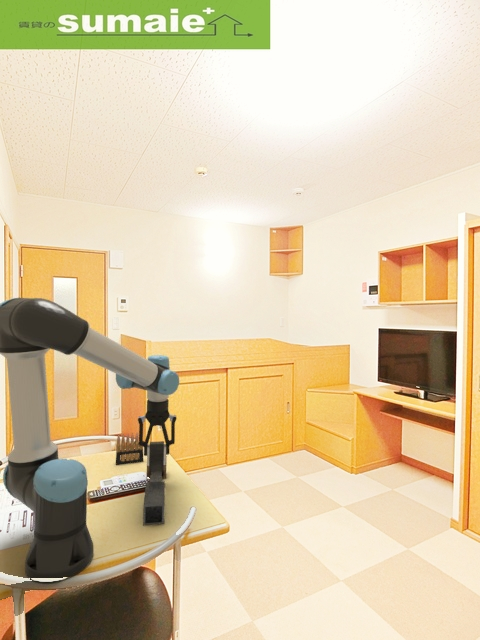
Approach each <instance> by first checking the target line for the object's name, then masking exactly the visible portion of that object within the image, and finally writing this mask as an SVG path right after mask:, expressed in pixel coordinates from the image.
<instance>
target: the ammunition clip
mask: <svg viewBox="0 0 480 640" xmlns="http://www.w3.org/2000/svg"><path fill="white" fill-rule="evenodd" d="M134 436H135V437H134ZM115 446H116V449H115V465H116V466H120V465H128V464H129V465H130V464H138V463H144V447H143V446H139V432H136V433H135V435H134V433H133V432H132V433H131V437H130V434H129V433H127V435H126V438H125V434H124V433H122V435H121V437H120V434H117V438H116V444H115Z"/></svg>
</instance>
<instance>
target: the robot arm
mask: <svg viewBox="0 0 480 640" xmlns="http://www.w3.org/2000/svg"><path fill="white" fill-rule="evenodd" d="M50 350H53V351H57V352H59V353H62V354H64V355H66V356H71V355H73V354H74V355H75V356H78V357H80V358H82V359H84V360H86V361H89V362H91V363H93V364H94V365H95V364H96V365H97V366H98V367H101V368H103V369H105V370H108V371H109V372H111V373H113V374H115V382H116V384H117V386H118V387H119V388H120V389H122V390H125V389H128V390H130V389H132V388H133V389H134V388H135V389H140V390H143V391H146V399H147V400H146V413H145V415H142V416H141V415H139V416H138V418H137V422H138V424H139V428H138V442H139V446H143V457H146V467H147V466H149V448H150V444H149V443H150V439H151V435H152V432H153V428H154V427H157V426H159V427H161V431H162V434H163V438H164V465H166V466H167V459H166V456H168V455H170V446H172V445H175V441H176V440H175V438H176V437H175V436H176V434H175V433H176V432H175V431H176V429H175V428H176V421H177V415H176V414H174V415H173V414H170V412H169V399H168V398H170V397H169V396H171V395H173V394H175V392H176V391H177V390H178V387H179V385H180V377H179V374H178V373H177V372H175V370H171V367H170V357H168V356H167V355H164V354H163V355H162V354H153V355H149V356H148V357H147V358H145V357H143V356H142V355H139V354H138V353H136V352H135V351H133V350H131V349H130V348H127V347H125V346H123V345H122V344H120V343H118V342H116V341H115V340H113V339H111V338H109V337H108V336H106V335H104V334H102V333H100V332H99V331H97V330H95V329H93V328H92V327H90V322H89V321H87V320H85V319H83V318H82V317H81V316H79V315H77V314H75V313H73V312H72V311H71V310H69V309H67V308H65V307H63V306H62V305H60V304H58V303H56V302H54V301H52V300H50V299H47V298H42V297H41V298H39V297H34V298H33V297H31V298H29V297H13V298H10V299H7V300H4V301H2V302H1V303H0V355H1V356H3V357H4V358H5V360H6V367H7V368H6V369H7V379H8V381H7V382H8V390H9V405H10V415H11V417H10V418H11V427H12V429H11V430H12V438H13V439H12V440H13V441H12V442H13V449H12V450H11V451H10V452H9V453H8V455H7V465H6V466H5V467H4V470H3V474H2V482H3V485H4V487H5V489H6V491H7V493H8V494H10V495H11V497H13V498H14V499H16V500H17V501H19V502H21V503H22V504H23V505H24V506H26V507H27V508H29V510H31V511H32V512H33V536H32V540H31V543H30V545H29V548H28V551H27V553H26V556H25V563H24V572H25V575H26V577H27V578H28V577H30V578H63V577H70V578H72V577H74V576H76V575H78V574H80V572H83V570H85V569H86V568H87V567H88V565H90V564H91V562H92V560H93V558H94V541H93V538H92V536H91V534H90V531H89V528H88V525H87V509H88V508H87V507H88V506H87V505H88V504H87V503H88V499H87V498H88V485H89V482H88V481H89V480H88V475H87V469H86V466H85V465H84V464H83V463H82V462H80V461H78V460H75V459H72V458H70V459H68V458H59V449H58V445H57V444H56V443H55V442H54V441H52V438H51V424H50V411H49V410H50V408H49V398H48V397H49V396H48V395H49V394H48V385H47V384H48V382H47V380H48V379H47V371H46V370H47V368H46V354H47V353H48V352H49V351H50ZM168 419H169V422H170V427H171V428H170V429H171V430H170V432H171V433H170V435H171V436H170V439H169V434H168V431H167V425H166V422H167V421H168ZM145 420H146V421H147V422H148V423H149V426H148V429H147V432H146V433H147V434H146V435H145V441H144V423H145Z"/></svg>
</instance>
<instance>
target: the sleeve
mask: <svg viewBox="0 0 480 640" xmlns="http://www.w3.org/2000/svg"><path fill="white" fill-rule="evenodd" d="M165 490H166V482H165V481H163V480H162V481H161V482H150V481H149V482H148V481H147V482H145V489H144V498H143V503H142V504H143V505H142V506H143V508H142V511H143V513H142V516H143V517H142V518H143V519H142V527H143V526H155V525H165V510H166V509H165V506H166V505H165V501H166V500H165V499H166V498H165V496H166V494H165V493H166V491H165Z"/></svg>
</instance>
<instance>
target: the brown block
mask: <svg viewBox="0 0 480 640" xmlns="http://www.w3.org/2000/svg"><path fill="white" fill-rule="evenodd" d="M167 456H168V455H166V460H168V459H167ZM150 475H151V472H149V466H147V465H146V478H147V477H149V478H150ZM163 479H167V464H166V465H164V472H162V480H163Z"/></svg>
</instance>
